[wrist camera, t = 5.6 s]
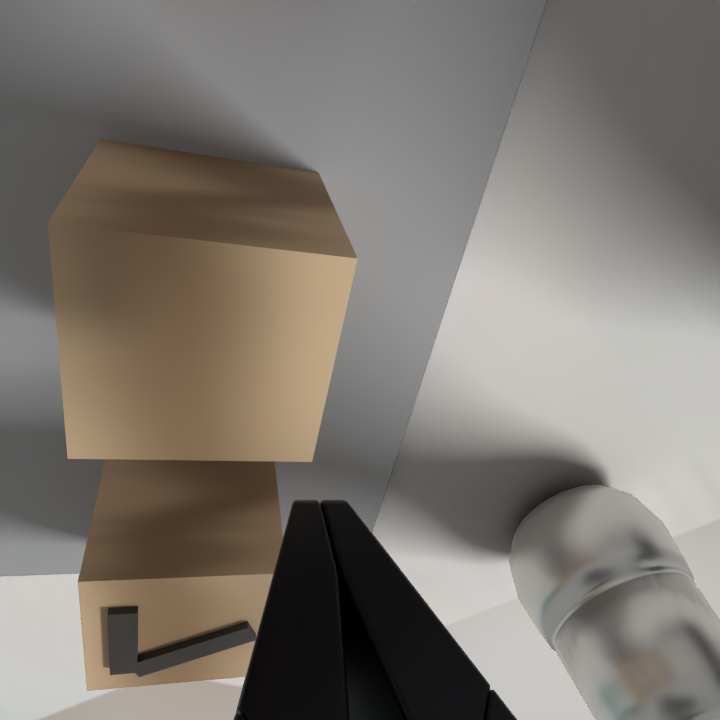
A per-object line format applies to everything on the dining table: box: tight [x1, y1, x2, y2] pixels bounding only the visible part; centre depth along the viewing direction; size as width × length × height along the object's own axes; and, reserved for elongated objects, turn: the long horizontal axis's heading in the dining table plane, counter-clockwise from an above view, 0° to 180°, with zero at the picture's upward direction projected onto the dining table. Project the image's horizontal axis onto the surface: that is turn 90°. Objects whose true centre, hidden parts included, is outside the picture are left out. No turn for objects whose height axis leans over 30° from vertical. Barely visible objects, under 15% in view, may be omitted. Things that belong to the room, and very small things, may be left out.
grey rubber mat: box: [0, 0, 547, 576], centre depth 15 cm, size 14×26×1 cm, turn 168°
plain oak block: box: [48, 139, 358, 462], centre depth 13 cm, size 5×5×5 cm
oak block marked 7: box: [78, 459, 283, 691], centre depth 18 cm, size 5×5×5 cm
